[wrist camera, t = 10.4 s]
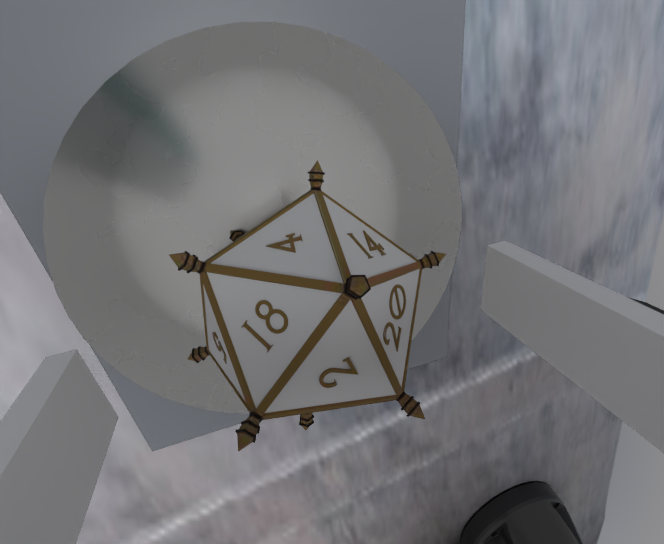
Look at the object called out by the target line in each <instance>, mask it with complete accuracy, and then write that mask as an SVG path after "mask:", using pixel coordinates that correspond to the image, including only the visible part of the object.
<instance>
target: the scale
mask: <svg viewBox="0 0 664 544" xmlns="http://www.w3.org/2000/svg"><path fill="white" fill-rule="evenodd" d="M465 4H466V0H0V193H1V194H2V196H3V198H4V199H5V201H6V203H7V205H8V206H9V208H10V210H11V211H12V213H13V215H14V217H15V218H16V220H17V222H18V223H19V225H20V227H21V228H22V230H23V232H24V234H25V235H26V237H27V239H28V240H29V242H30V244H31V245H32V247H33V249H34V251H35V252H36V254H37V256H38V257H39V259H40V261H41V263H42V264H43V266H44V268H45V269H46V271H47V273H48V274H49V276H50V278H51V280H52V277H51V274H50V270H49V267H48V264H47V258H46V251H45V244H44V236H43V216H44V199H45V194H46V189H47V184H48V179H49V175H50V170H51V167H52V164H53V162H54V159H55V157H56V154H57V152H58V150H59V147H60V145H61V142H62V140H63V137H64V136H65V134H66V132H67V131H68V129H69V128H70V126H71V124H72V123H73V121H74V120H75V118H76V116H77V115H78V113H79V111H80V110H81V108H82V107H83V106H84V105H85V104H86V103H87V101H88V100H89V99H90V98H91V97H92V96H93V95H94V94H95V92H96V91H97V90H98V89H99V88H100V87H101V86H102V85H103V84H104V82H105V81H106V80H108V79H109V78H110V77H111V76H113V75H114V74H115V73H117V72H118V71H119V70H120V69H122V68H123V67H124V66H125V65H127V64H128V63H129V62H130V61H132V60H133V59H134V58H136V57H138V56H140V55H141V54H143V53H145V52H147V51H149V50H151V49H152V48H154V47H156V46H158V45H160V44H162V43H163V42H165V41H167V40H170V39H173V38H176V37H179V36H182V35H184V34H187V33H190V32H193V31H196V30H199V29H202V28H207V27H213V26H219V25H225V24H231V23H236V22H278V23H285V24H291V25H298V26H305V27H310V28H313V29H316V30H319V31H322V32H325V33H329V34H332V35H335V36H338V37H341V38H343V39H345V40H347V41H349V42H351V43H353V44H355V45H357V46H359V47H361V48H363V49H365V50H367V51H369V52H370V53H372V54H373V55H375V56H376V57H377V58H379V59H380V60H382V61H383V62H385V63H386V64H387V65H389V66H390V67H392V68H393V69H394V70H395V71H396V72H397V73H398V74H399V75H400V76H401V77H403V78H404V79H405V80H406V81H407V82H408V83H409V84H410V85H411V86H412V87H413V88H414V89H415V90H416V92H417V93H418V94H419V95H420V97H421V98H422V99H423V101H424V102H425V103H426V104H427V106H428V107H429V108H430V109H431V111H432V113H433V115H434V116H435V118H436V120H437V122H438V123H439V125H440V127H441V129H442V130H443V132H444V134H445V137H446V139H447V142H448V144H449V147H450V149H451V152H452V154H453V157H454V161H455V165H456V169H457V157H458V138H459V119H460V100H461V80H462V61H463V42H464V23H465ZM52 281H53V280H52ZM450 291H451V276H450V279H449V281H448V284H447V286H446V288H445V291H444V293H443V295H442V297H441V299H440V301H439V303H438V305H437V306H436V308H435V309H434V311H433V313H432V314H431V316H430V318H429V319H428V321H427V322H426V323H425V325H424V326H423V327H422V329H421V330H420V331H419V332H418V334H417V335H416V336H415V338H414V339H413V340H412V341H411V348H410V354H409V361H408V368H407V370H408V369H411V368H414V367H417V366H420V365H424V364H427V363H430V362H433V361H436V360H439V359H442V358H445V357H447V348H448V329H449V310H450ZM90 346H91V345H90ZM91 348H92V347H91ZM92 349H93V348H92ZM93 351H94V353H95V355H96V356H97V358H98V360H99V361H100V363H101V365H102V366H103V368H104V370H105V372H106V373H107V375H108V377H109V378H110V380H111V382H112V383H113V385H114V387H115V389H116V390H117V392H118V394H119V395H120V397H121V399H122V401H123V402H124V404H125V406H126V407H127V409H128V411H129V412H130V414H131V416H132V418H133V419H134V421H135V423H136V424H137V426H138V428H139V429H140V431H141V433H142V435H143V436H144V438H145V440H146V441H147V443H148V445H149V447H150V448H151V450H152V451H155V450H158V449H161V448H165V447H168V446H171V445H174V444H177V443H180V442H183V441H186V440H190V439H193V438H196V437H199V436H202V435H205V434H208V433H211V432H214V431H218V430H221V429H224V428H227V427H230V426H233V425H236V424H239V423H241V422H242V421H245V420H246V419H247V418H248V417H249V414H250V413H227V412H219V411H210V410H206V409H201V408H197V407H192V406H188V405H185V404H182V403H179V402H176V401H173V400H170V399H167V398H164V397H162V396H160V395H158V394H156V393H154V392H152V391H149V390H147V389H145V388H143V387H142V386H140V385H138V384H137V383H135V382H134V381H132V380H130V379H129V378H127V377H126V376H124V375H122V374H121V373H120V372H119V371H117V370H116V369H115V368H114V367H113V366H111V365H110V364H109V363H108V362H106V361H105V360H104V359H103V358H102V357H101V356H100V355H99V354H98V353H97V352H96V351H95V350H94V349H93Z"/></svg>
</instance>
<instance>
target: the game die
mask: <svg viewBox="0 0 664 544" xmlns="http://www.w3.org/2000/svg"><path fill="white" fill-rule="evenodd" d="M308 174H309V179H308V181H310V185H311V189H310V190H309V191H308V192H306V193H305V194H303V195H302V196H300V197H299V198H297V199H296V200H294V201H293V202H292V203H290V204H289V205H287V206H286V207H284V208H283V209H281V210H280V211H278V212H277V213H275V214H274V215H272V216H271V217H269V218H268V219H266V220H265V221H263V222H262V223H260V224H259V225H257V226H256V227H254V228H253V229H251V230H250V231H248V232H247V233H245V234H242V233H241V230H240V231H230V237H229V239H231V240H232V241H233V242H232V243H231V244H229V245H228V246H226V247H225V248H223V249H222V250H220V251H219V252H217V253H216V254H214V255H213V256H211V257H210V258H208V259H207V260H205V261H204V262H203V261H200V260H199V259H198V257H197V256H196V255H194V254H193V256H192V255H190V253H188V252H187V251H185V252H183V253H176V254H169V256H170V257H171V259H172V260H173V261H174V263H175V264H176V265H177V267H178V270H179V271H180V270H185V271H187V273H190V272H197V273H199V274H200V284H201V295H202V305H203V316H204V327H205V337H206V347H201V346H199V347H198V348H197V349H195V348H193V349H192V352H191V354H190V355H189V357H188V360H192V361H195V362H196V363H197V364H198V363H199V362H200V361H201V360H203V361H204V360H205V359H206V357H207V356H209V355H210V356H211V358H212V359H213V360H214V362H215V363H216V365H217V366H218V368H219V369H220V371H221V372H222V374H223V375H224V376H225V378H226V379H227V381H228V382H229V384H230V385H231V387H232V388H233V389H234V391H235V392H236V394H237V395H238V397H239V398H240V400H241V401H242V403H243V404H244V405H245V407H246V408H247V410H248V411H249V413H250V414H249V417H248V418H247V419H246V420H245V421H242V422H241V424H242V425H241V427H240V429H238V430H236V431H235V432H236V433H237V435H238V451H240V450H241V449H243V448H244V447H246V446H247V445H249V444H250V443H252V442H254V443H255V440H256V434H257V433H259V430H260V426H259V423H260V422H261V421H262V420H265V419H272V418H279V417H285V416H292V415H299V414H301V415H300V423H299V425H301V426H302V427H303V428H304V429H305V430H307V429H308V427H309V426H310V425H312V424H313V423H314V421H313V418H314V416H313V415H312V412H319V411H326V410H332V409H339V408H346V407H352V406H359V405H366V404H373V403H379V402H386V401H393V400H397V401H398V402H399V403H400V405H401V407H402V408H401V410H403V409H404V410H405V412H406V413H407V414H408V415H407V416H414V417H418V418H422V419H425V418H424V415H423V412H422V410H421V407H420V405H419V404H420V402H417V401H415V400H414V399H413V398H414V397H413V396H412V397H410V396H409V395H407V394H406V393H405V392H404V388H405V381H406V374H407V368H408V361H409V354H410V348H411V341H412V334H413V327H414V321H415V314H416V307H417V300H418V294H419V287H420V280H421V273H422V269H424V268H430V269H432V267H433V266H436V265H437V267H438V266H439V263H440V262H441V260H442V259H443V258H444V257H445V255H446V254H445V253H437V252H433V251H431V253H429V254H424V255H425V256H424V257H423V258H421V259H417V258H415V257H414V256H412V255H411V254H410V253H408V252H407V251H405V250H404V249H403V248H401V247H400V246H398V245H397V244H396V243H394V242H393V241H391V240H390V239H389V238H387V237H386V236H384V235H383V234H381V233H380V232H379V231H377V230H376V229H374V228H373V227H372V226H370V225H369V224H367V223H366V222H365V221H363V220H362V219H360V218H359V217H358V216H356V215H355V214H353V213H352V212H351V211H349V210H348V209H346V208H345V207H344V206H342V205H341V204H339V203H338V202H337V201H335V200H334V199H332V198H331V197H330V196H328V195H327V194H325V193H324V192H323V191H321V186H322V183H323V182H324V180H323V175H325V172H323V171H322V169H321V166H320V164H319V162H318V160H317V161H316V163H315V164H314V166H313V167H312V169H311V170H310V172H308Z"/></svg>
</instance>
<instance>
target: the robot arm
mask: <svg viewBox="0 0 664 544" xmlns="http://www.w3.org/2000/svg"><path fill="white" fill-rule="evenodd" d="M481 311H483V312H484V313H485V314H487V315H488V316H489V317H490V318H492V319H493V320H494V321H496V322H497V323H498V324H499V325H501V326H502V327H503V328H504V329H506V330H507V331H508V332H510V333H511V334H512V335H513V336H515V337H516V338H517V339H519V340H520V341H521V342H522V343H524V344H525V345H526V346H527V347H529V348H530V349H531V350H533V351H534V352H535V353H536V354H538V355H539V356H540V357H542V358H543V359H544V360H545V361H547V362H548V363H549V364H550V365H552V366H553V367H554V368H556V369H557V370H558V371H559V372H561V373H562V374H563V375H565V376H566V377H567V378H568V379H570V380H571V381H572V382H573V383H575V384H576V385H577V386H579V387H580V388H581V389H582V390H584V391H585V392H586V393H588V394H589V395H590V396H591V397H593V398H594V399H595V400H596V401H598V402H599V403H600V404H602V405H603V406H604V407H605V408H607V409H608V410H609V411H611V412H612V413H613V414H614V415H616V416H617V417H618V418H619V419H621V420H622V421H623V422H625V423H626V424H627V425H628V426H630V427H631V428H632V429H634V430H635V431H636V432H637V433H639V434H640V435H641V436H642V437H644V438H645V439H646V440H648V441H649V442H650V443H651V444H653V445H654V446H655V447H657V448H658V449H659V450H660V451H662V452H663V453H664V311H663V310H661V309H659V308H657V307H654V306H652V305H650V304H648V303H646V302H642V301H639V300H635V299H632V298H628V297H625V296H623V295H621V294H619V293H617V292H615V291H612V290H610V289H608V288H606V287H604V286H602V285H600V284H598V283H595V282H593V281H591V280H589V279H587V278H585V277H583V276H580V275H578V274H576V273H574V272H572V271H570V270H568V269H566V268H563V267H561V266H559V265H557V264H555V263H553V262H551V261H548V260H546V259H544V258H542V257H540V256H538V255H536V254H534V253H531V252H529V251H527V250H525V249H523V248H521V247H519V246H516V245H514V244H512V243H510V242H508V241H502V242H498V243H494V244H490V245H487V253H486V263H485V273H484V282H483V292H482V301H481ZM117 420H118V416H117V414H116V412H115V411H114V409H113V407H112V406H111V404H110V403H109V401H108V399H107V398H106V396H105V394H104V393H103V391H102V390H101V388H100V386H99V385H98V383H97V381H96V380H95V378H94V377H93V375H92V373H91V372H90V370H89V368H88V367H87V365H86V364H85V362H84V360H83V359H82V357H81V355H80V354H79V352H78V351H77V350H73V351H69V352H65V353H61V354H57V355H53V356H49V357H46V358H45V359H44V361H43V362H42V363H41V365H40V366H39V368H38V369H37V370H36V372H35V373H34V375H33V376H32V378H31V379H30V380H29V382H28V383H27V385H26V386H25V387H24V389H23V390H22V392H21V393H20V394H19V396H18V397H17V399H16V400H15V402H14V403H13V404H12V406H11V407H10V409H9V410H8V411H7V413H6V414H5V416H4V417H3V419H2V420H1V421H0V544H76V542H77V539H78V536H79V533H80V530H81V527H82V524H83V521H84V518H85V515H86V512H87V509H88V506H89V503H90V500H91V497H92V494H93V491H94V488H95V485H96V482H97V479H98V476H99V473H100V470H101V467H102V464H103V461H104V458H105V455H106V453H107V450H108V447H109V444H110V441H111V438H112V435H113V432H114V429H115V426H116V423H117ZM461 543H462V544H584V543H583V541H582V539H581V537H580V535H579V533H578V531H577V529H576V527H575V525H574V523H573V521H572V519H571V517H570V515H569V513H568V512H567V510H566V508H565V506H564V504H563V502H562V501H561V499H560V498H559V497H558V496H557V495H556V494H555V492H554V491H553V490H552V489H551V488H550V487H549V486H548V485H547V484H545V483H539V482H536V483H529V484H525V485H521V486H518V487H516V488H514V489H511V490H509V491H507V492H505V493H503V494H502V495H500V496H498V497H497V498H495V499H494V500H492V501H491V502H490V503H488V504H487V505H486V506H485V507H483V508H482V509H481V510H480V511H479V512H478V513H477V514H476V515H475V516H474V517H473V518H472V519H471V521H470V522H469V523H468V525H467V526H466V528H465V530H464V532H463V534H462V538H461Z"/></svg>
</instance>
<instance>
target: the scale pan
mask: <svg viewBox="0 0 664 544" xmlns="http://www.w3.org/2000/svg"><path fill="white" fill-rule="evenodd" d="M317 160H318V162H319V164H320V166H321V169H322V171H323V172H325V175H323V180H324V182H323V183H322V186H321V191H323V192H324V193H325V194H327V195H328V196H330V197H331V198H332V199H334V200H335V201H337V202H338V203H339V204H341V205H342V206H344V207H345V208H346V209H348V210H349V211H351V212H352V213H353V214H355V215H356V216H358V217H359V218H360V219H362V220H363V221H365V222H366V223H367V224H369V225H370V226H372V227H373V228H374V229H376V230H377V231H379V232H380V233H381V234H383V235H384V236H386V237H387V238H389V239H390V240H391V241H393V242H394V243H396V244H397V245H398V246H400V247H401V248H403V249H404V250H405V251H407V252H408V253H410V254H411V255H412V256H414V257H415V258H417V259H421V258H423V257H424V256H425V255H424V254H429V253H431V251H433V252H437V253H445V254H446V255H445V257H444V258H443V259H442V260H441V262H440V263H439V266H438V267H437V265H436V266H433V267H432V269H430V268H424V269H422V273H421V280H420V287H419V294H418V300H417V307H416V314H415V321H414V327H413V334H412V340H413V339H414V338H415V336H416V335H417V334H418V332H419V331H420V330H421V329H422V327H423V326H424V325H425V323H426V322H427V321H428V319H429V318H430V316H431V314H432V313H433V311H434V309H435V308H436V306H437V305H438V303H439V301H440V299H441V297H442V295H443V293H444V291H445V288H446V286H447V284H448V281H449V279H450V276H451V273H452V270H453V267H454V264H455V260H456V256H457V252H458V248H459V242H460V233H461V225H462V199H461V191H460V183H459V177H458V173H457V169H456V165H455V161H454V157H453V154H452V152H451V149H450V147H449V144H448V142H447V139H446V137H445V134H444V132H443V130H442V129H441V127H440V125H439V123H438V122H437V120H436V118H435V116H434V115H433V113H432V111H431V109H430V108H429V107H428V106H427V104H426V103H425V102H424V101H423V99H422V98H421V97H420V95H419V94H418V93H417V92H416V90H415V89H414V88H413V87H412V86H411V85H410V84H409V83H408V82H407V81H406V80H405V79H404V78H403V77H401V76H400V75H399V74H398V73H397V72H396V71H395V70H394V69H393V68H392V67H390V66H389V65H387V64H386V63H385V62H383V61H382V60H380V59H379V58H377V57H376V56H375V55H373V54H372V53H370V52H369V51H367V50H365V49H363V48H361V47H359V46H357V45H355V44H353V43H351V42H349V41H347V40H345V39H343V38H341V37H338V36H335V35H332V34H329V33H325V32H322V31H319V30H316V29H313V28H310V27H305V26H298V25H291V24H285V23H278V22H236V23H231V24H225V25H219V26H213V27H207V28H202V29H199V30H196V31H193V32H190V33H187V34H184V35H182V36H179V37H176V38H173V39H170V40H167V41H165V42H163V43H162V44H160V45H158V46H156V47H154V48H152V49H151V50H149V51H147V52H145V53H143V54H141V55H140V56H138V57H136V58H134V59H133V60H132V61H130V62H129V63H128V64H127V65H125V66H124V67H123V68H122V69H120V70H119V71H118V72H117V73H115V74H114V75H113V76H111V77H110V78H109V79H108V80H106V81H105V82H104V84H103V85H102V86H101V87H100V88H99V89H98V90H97V91H96V92H95V94H94V95H93V96H92V97H91V98H90V99H89V100H88V101H87V103H86V104H85V105H84V106H83V107H82V108H81V110H80V111H79V113H78V115H77V116H76V118H75V120H74V121H73V123H72V124H71V126H70V128H69V129H68V131H67V132H66V134H65V136H64V137H63V140H62V142H61V145H60V147H59V150H58V152H57V154H56V157H55V159H54V162H53V164H52V167H51V170H50V175H49V179H48V184H47V189H46V194H45V199H44V216H43V236H44V244H45V251H46V258H47V264H48V267H49V270H50V274H51V277H52V280H53V283H54V286H55V290H56V292H57V294H58V296H59V298H60V300H61V302H62V304H63V306H64V308H65V310H66V312H67V314H68V316H69V318H70V319H71V321H72V322H73V323H74V325H75V326H76V328H77V329H78V331H79V332H80V333H81V335H82V336H83V338H84V339H85V340H86V341H87V342H88V343H89V344H90V345H91V347H92V348H93V349H94V350H95V351H96V352H97V353H98V354H99V355H100V356H101V357H102V358H103V359H104V360H105V361H106V362H108V363H109V364H110V365H111V366H113V367H114V368H115V369H116V370H117V371H119V372H120V373H121V374H122V375H124V376H126V377H127V378H129V379H130V380H132V381H134V382H135V383H137V384H138V385H140V386H142V387H143V388H145V389H147V390H149V391H152V392H154V393H156V394H158V395H160V396H162V397H164V398H167V399H170V400H173V401H176V402H179V403H182V404H185V405H188V406H192V407H197V408H201V409H206V410H210V411H219V412H227V413H249V411H248V410H247V408H246V407H245V405H244V404H243V403H242V401H241V400H240V398H239V397H238V395H237V394H236V392H235V391H234V389H233V388H232V387H231V385H230V384H229V382H228V381H227V379H226V378H225V376H224V375H223V374H222V372H221V371H220V369H219V368H218V366H217V365H216V363H215V362H214V360H213V359H212V358H211V356H210V355H209V356H207V357H206V359H205V360H204V361H203V360H201V361H200V362H199V363H198V364H197V363H196V362H195V361H192V360H188V357H189V355H190V354H191V352H192V349H193V348H195V349H197V348H198V347H199V346H201V347H206V337H205V327H204V316H203V305H202V295H201V284H200V274H199V273H197V272H190V273H187V271H185V270H180V271H179V270H178V267H177V265H176V264H175V263H174V261H173V260H172V259H171V257H170V256H169V254H176V253H183V252H185V251H187V252H188V253H190V255H192V256H193V254H194V255H196V256H197V257H198V259H199V260H200V261H203V262H204V261H205V260H207V259H208V258H210V257H211V256H213V255H214V254H216V253H217V252H219V251H220V250H222V249H223V248H225V247H226V246H228V245H229V244H231V243H232V242H233V241H232V240H231V239H229V237H230V231H240V230H241V233H242V234H245V233H247V232H248V231H250V230H251V229H253V228H254V227H256V226H257V225H259V224H260V223H262V222H263V221H265V220H266V219H268V218H269V217H271V216H272V215H274V214H275V213H277V212H278V211H280V210H281V209H283V208H284V207H286V206H287V205H289V204H290V203H292V202H293V201H294V200H296V199H297V198H299V197H300V196H302V195H303V194H305V193H306V192H308V191H309V190H310V189H311V185H310V181H308V179H309V174H308V172H310V170H311V169H312V167H313V166H314V164H315V163H316V161H317Z"/></svg>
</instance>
